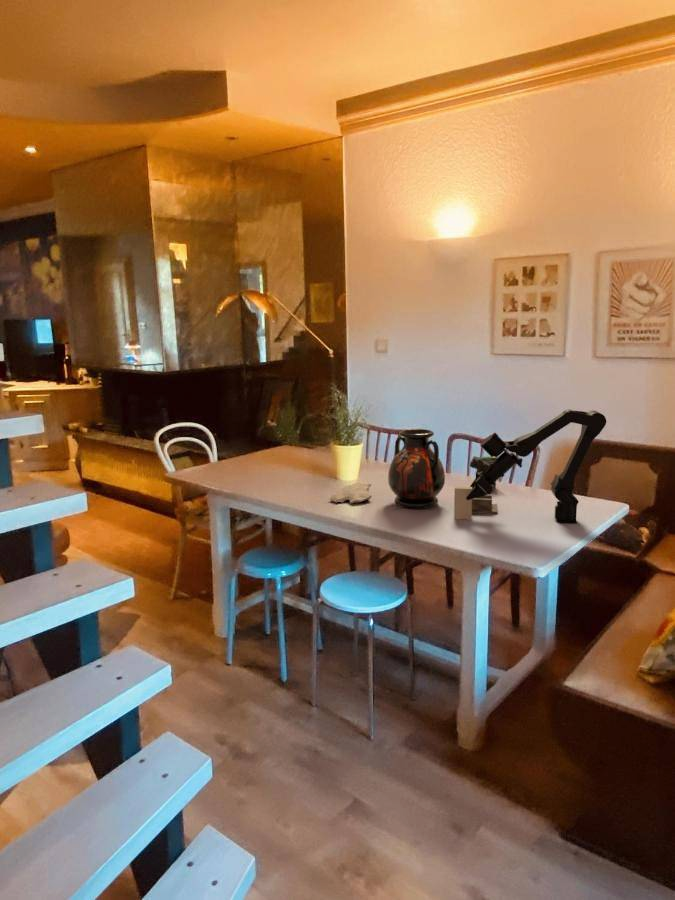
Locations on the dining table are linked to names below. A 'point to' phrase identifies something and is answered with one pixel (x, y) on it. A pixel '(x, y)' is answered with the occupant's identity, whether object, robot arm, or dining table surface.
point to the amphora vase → (416, 470)
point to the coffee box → (488, 462)
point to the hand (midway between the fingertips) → (467, 495)
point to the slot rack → (484, 505)
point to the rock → (353, 493)
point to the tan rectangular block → (462, 503)
